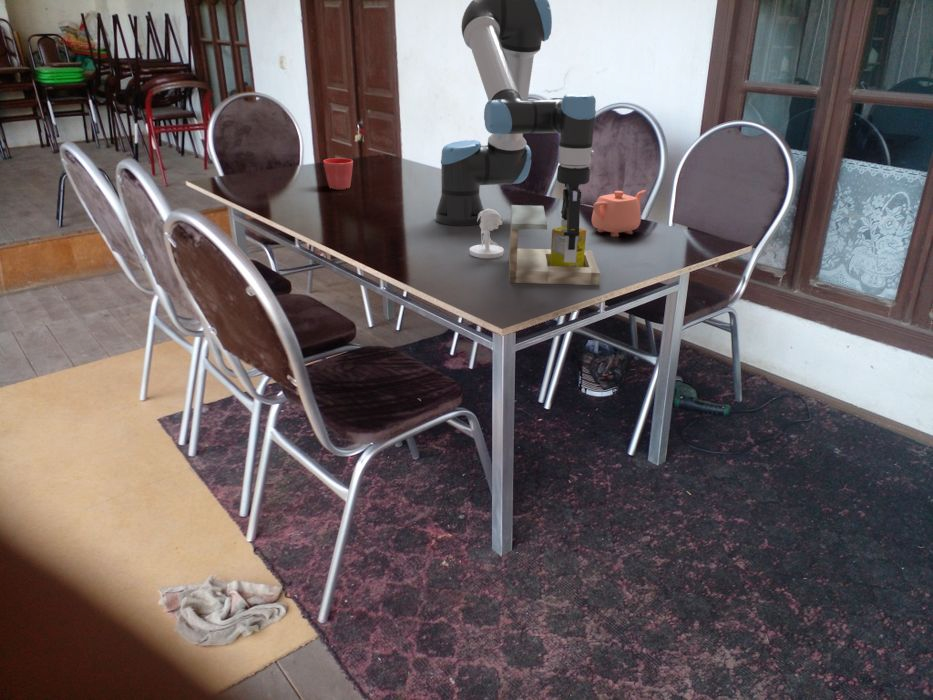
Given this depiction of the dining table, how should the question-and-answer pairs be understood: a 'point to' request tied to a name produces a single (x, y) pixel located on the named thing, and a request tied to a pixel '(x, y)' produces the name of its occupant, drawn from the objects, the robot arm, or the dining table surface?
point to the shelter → (543, 255)
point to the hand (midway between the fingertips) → (567, 253)
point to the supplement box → (559, 248)
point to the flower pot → (338, 172)
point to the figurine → (488, 235)
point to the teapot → (617, 213)
